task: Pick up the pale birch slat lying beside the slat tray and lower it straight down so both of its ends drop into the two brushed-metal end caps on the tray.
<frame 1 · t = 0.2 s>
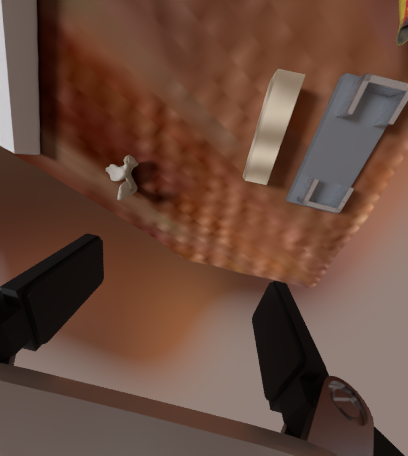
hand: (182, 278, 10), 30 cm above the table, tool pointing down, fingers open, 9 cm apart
slat tray: (335, 153, 32), on the table
decorative molding: (11, 45, 31), on the table, touching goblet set
end caps: (345, 153, 30), on the slat tray, point 3 cm above the table
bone: (129, 172, 38), on the table
birch slat: (265, 135, 33), on the table
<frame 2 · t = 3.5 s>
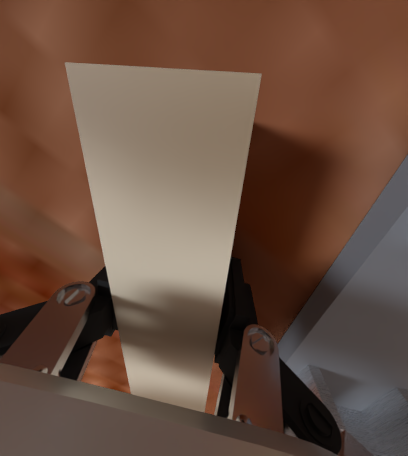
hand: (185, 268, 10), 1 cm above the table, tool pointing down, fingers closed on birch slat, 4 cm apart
slat tray: (387, 310, 11), on the table
birch slat: (188, 258, 11), on the table, touching gripper
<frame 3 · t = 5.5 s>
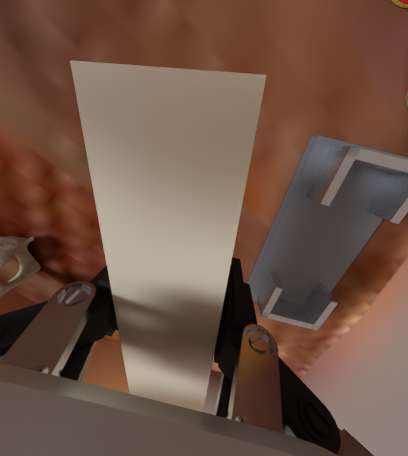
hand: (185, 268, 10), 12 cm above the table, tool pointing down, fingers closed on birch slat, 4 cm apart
slat tray: (309, 239, 22), on the table
end caps: (322, 251, 19), on the slat tray, point 3 cm above the table
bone: (25, 247, 27), on the table
birch slat: (188, 258, 11), point 11 cm above the table, touching gripper
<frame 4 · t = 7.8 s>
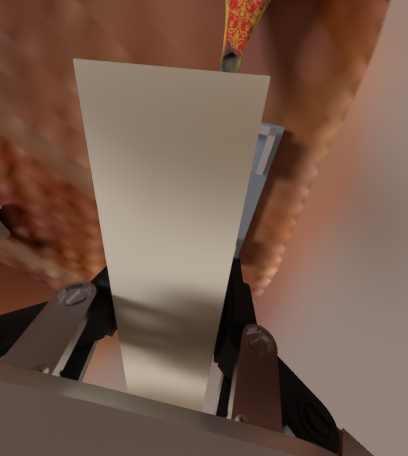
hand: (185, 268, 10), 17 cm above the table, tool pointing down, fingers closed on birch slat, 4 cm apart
slat tray: (221, 199, 26), on the table
end caps: (221, 204, 23), on the slat tray, point 3 cm above the table
birch slat: (188, 258, 11), point 16 cm above the table, touching gripper
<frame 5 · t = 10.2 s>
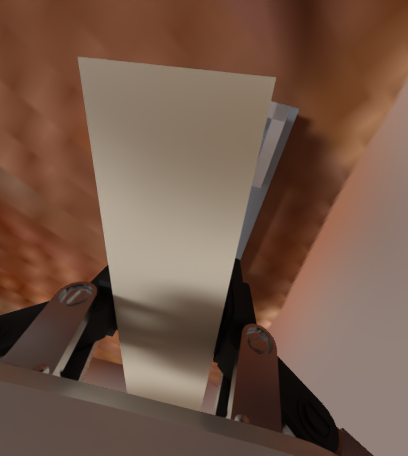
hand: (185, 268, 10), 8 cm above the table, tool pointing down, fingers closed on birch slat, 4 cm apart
slat tray: (201, 217, 18), on the table
end caps: (197, 229, 15), on the slat tray, point 2 cm above the table
birch slat: (189, 258, 11), point 7 cm above the table, touching gripper
when the fingers open (4 cm above the table, at t = 12.3 s): birch slat drops 1 cm, resting on slat tray.
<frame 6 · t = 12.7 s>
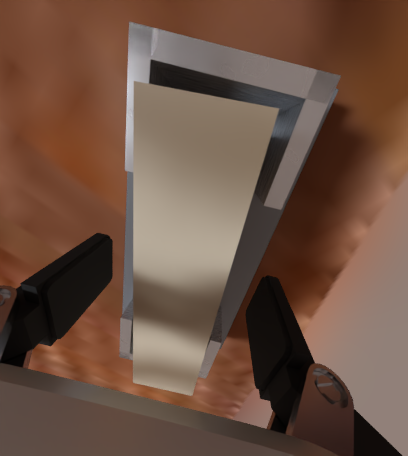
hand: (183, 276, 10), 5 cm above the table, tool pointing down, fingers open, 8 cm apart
slat tray: (195, 238, 14), on the table
end caps: (188, 260, 11), on the slat tray, point 2 cm above the table
birch slat: (192, 248, 13), point 1 cm above the table, touching slat tray
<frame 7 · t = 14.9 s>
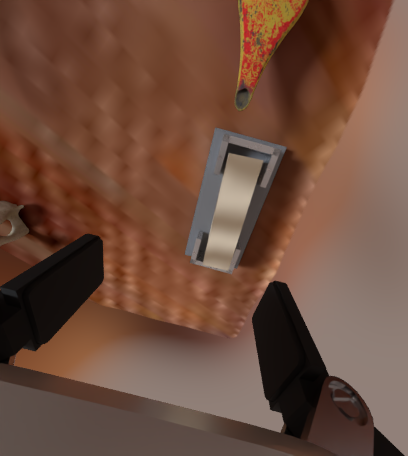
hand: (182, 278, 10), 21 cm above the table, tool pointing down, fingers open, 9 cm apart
slat tray: (227, 206, 29), on the table
end caps: (228, 211, 26), on the slat tray, point 2 cm above the table
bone: (17, 214, 34), on the table
magic lamp: (260, 37, 21), on the table
birch slat: (227, 209, 28), point 1 cm above the table, touching slat tray
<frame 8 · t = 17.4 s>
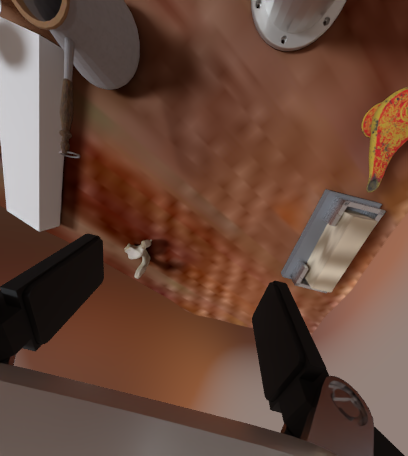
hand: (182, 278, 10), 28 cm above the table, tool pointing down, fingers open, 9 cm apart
slat tray: (322, 241, 38), on the table
decorative molding: (40, 145, 35), on the table, touching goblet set
end caps: (330, 248, 35), on the slat tray, point 2 cm above the table
coffee pot: (118, 89, 30), on the table
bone: (143, 246, 43), on the table
magic lamp: (371, 132, 29), on the table
birch slat: (326, 244, 36), point 1 cm above the table, touching slat tray
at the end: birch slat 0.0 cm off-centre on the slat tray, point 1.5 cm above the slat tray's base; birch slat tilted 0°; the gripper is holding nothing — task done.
